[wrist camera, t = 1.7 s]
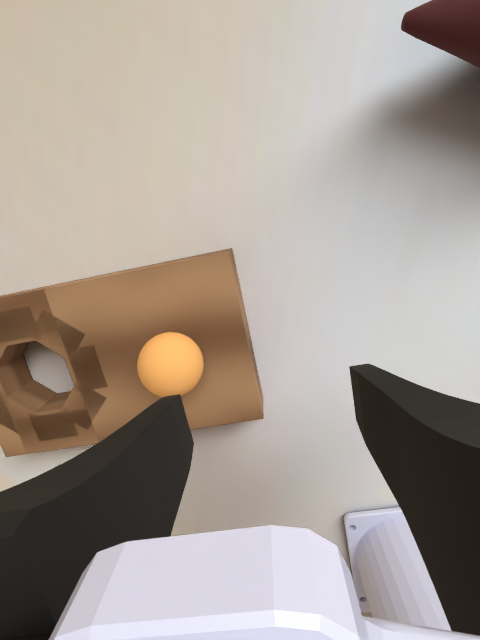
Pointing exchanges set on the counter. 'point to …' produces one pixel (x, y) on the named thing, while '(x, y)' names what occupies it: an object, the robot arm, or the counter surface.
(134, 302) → the board
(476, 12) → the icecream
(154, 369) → the ball
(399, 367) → the counter surface
